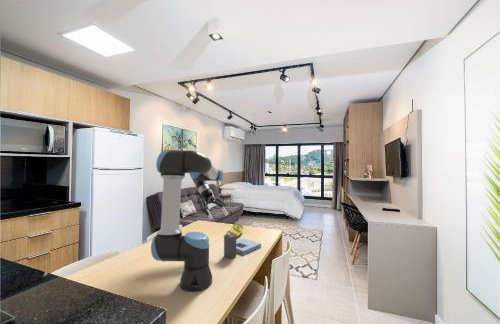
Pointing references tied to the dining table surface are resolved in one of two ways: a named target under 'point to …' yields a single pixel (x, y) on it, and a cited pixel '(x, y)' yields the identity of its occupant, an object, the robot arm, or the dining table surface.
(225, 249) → the servo block
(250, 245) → the plate
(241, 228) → the plastic component
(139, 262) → the dining table surface
